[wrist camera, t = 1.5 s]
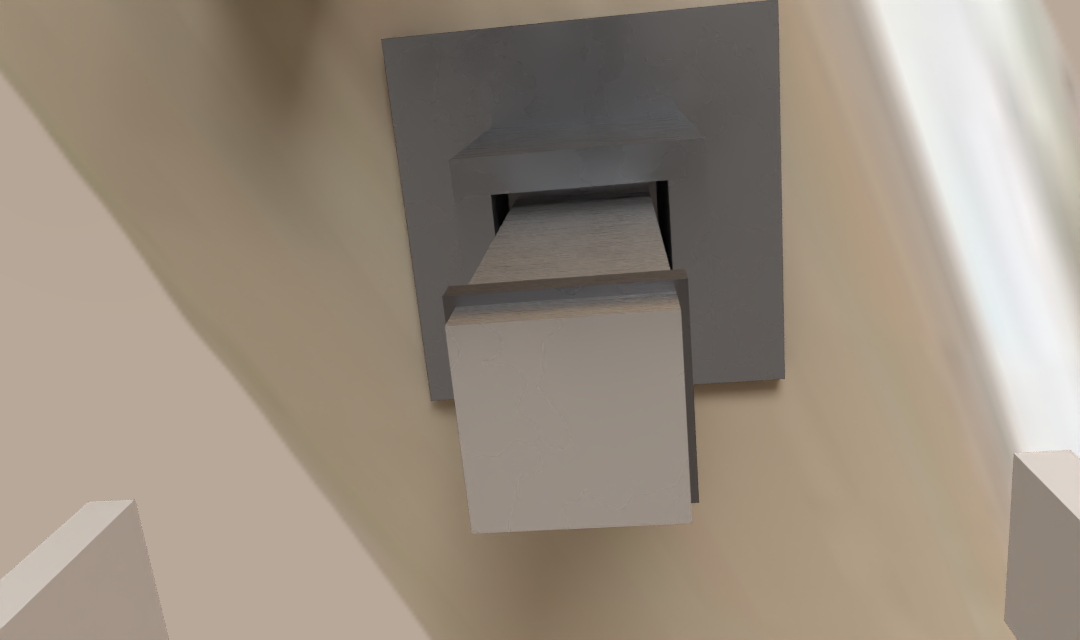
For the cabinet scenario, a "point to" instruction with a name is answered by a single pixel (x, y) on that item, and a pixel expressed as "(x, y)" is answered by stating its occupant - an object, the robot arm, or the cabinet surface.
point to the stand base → (604, 157)
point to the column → (575, 367)
